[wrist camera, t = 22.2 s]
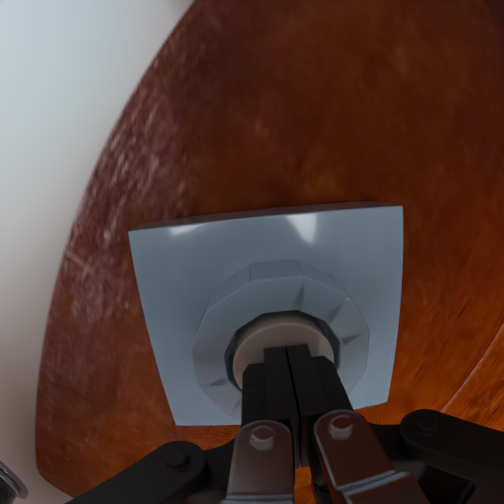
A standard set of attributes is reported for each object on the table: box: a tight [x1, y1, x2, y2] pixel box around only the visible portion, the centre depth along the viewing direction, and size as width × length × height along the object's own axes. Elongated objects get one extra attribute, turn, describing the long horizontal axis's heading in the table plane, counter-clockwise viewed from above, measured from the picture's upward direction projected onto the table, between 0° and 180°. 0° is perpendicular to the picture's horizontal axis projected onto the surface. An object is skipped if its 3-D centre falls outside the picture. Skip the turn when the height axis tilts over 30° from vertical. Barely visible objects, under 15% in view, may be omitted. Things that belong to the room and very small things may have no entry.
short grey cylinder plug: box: [233, 310, 334, 389], centre depth 11 cm, size 4×4×2 cm
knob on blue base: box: [128, 201, 403, 426], centre depth 13 cm, size 11×10×5 cm
